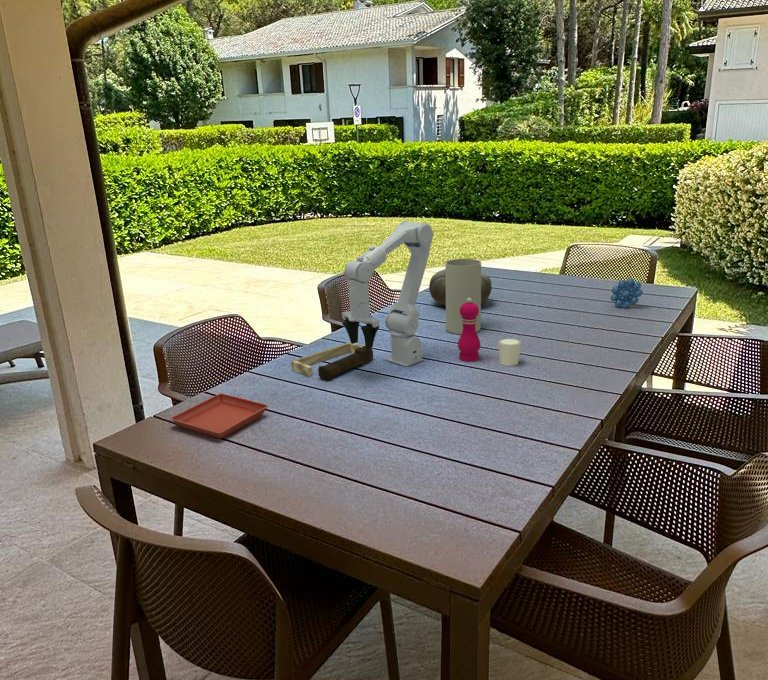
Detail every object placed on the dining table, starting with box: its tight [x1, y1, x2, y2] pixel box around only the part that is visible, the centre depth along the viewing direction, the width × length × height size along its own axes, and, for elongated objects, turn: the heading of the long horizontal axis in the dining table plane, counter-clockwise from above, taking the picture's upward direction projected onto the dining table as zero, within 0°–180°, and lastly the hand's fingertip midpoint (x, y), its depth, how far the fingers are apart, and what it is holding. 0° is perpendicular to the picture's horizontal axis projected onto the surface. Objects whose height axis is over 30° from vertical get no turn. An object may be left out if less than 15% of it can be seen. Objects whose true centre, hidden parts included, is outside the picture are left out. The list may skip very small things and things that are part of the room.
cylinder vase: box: [445, 258, 482, 335], centre depth 233 cm, size 12×12×25 cm
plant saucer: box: [170, 393, 269, 439], centre depth 169 cm, size 18×18×3 cm
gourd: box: [428, 268, 493, 307], centre depth 267 cm, size 25×25×17 cm
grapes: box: [610, 278, 644, 309], centre depth 254 cm, size 12×7×12 cm, turn 68°
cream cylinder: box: [498, 338, 522, 367], centre depth 201 cm, size 7×7×7 cm
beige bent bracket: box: [290, 341, 364, 378], centre depth 208 cm, size 9×24×3 cm, turn 133°
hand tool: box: [317, 345, 374, 382], centre depth 202 cm, size 23×5×6 cm, turn 137°
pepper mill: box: [457, 298, 481, 363], centre depth 205 cm, size 7×7×20 cm
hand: (361, 345), depth 195 cm, fingers open, 6 cm apart
